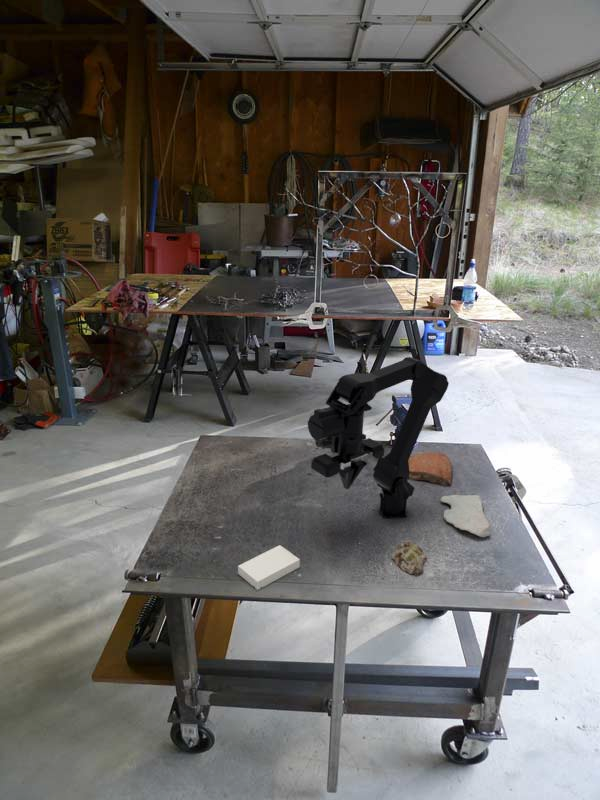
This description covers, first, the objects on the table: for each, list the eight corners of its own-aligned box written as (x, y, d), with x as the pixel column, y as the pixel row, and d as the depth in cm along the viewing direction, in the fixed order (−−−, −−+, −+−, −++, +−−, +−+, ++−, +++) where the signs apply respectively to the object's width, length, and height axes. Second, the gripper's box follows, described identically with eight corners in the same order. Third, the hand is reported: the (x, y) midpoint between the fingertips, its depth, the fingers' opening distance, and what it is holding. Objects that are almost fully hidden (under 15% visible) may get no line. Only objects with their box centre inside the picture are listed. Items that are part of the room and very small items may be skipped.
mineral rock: (386, 540, 142) (419, 532, 142) (389, 554, 144) (422, 546, 144) (396, 570, 132) (431, 562, 132) (399, 585, 134) (434, 576, 134)
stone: (477, 488, 164) (506, 525, 145) (476, 501, 166) (505, 539, 147) (431, 492, 164) (454, 529, 145) (431, 505, 165) (454, 544, 146)
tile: (279, 545, 139) (238, 565, 132) (299, 559, 135) (257, 581, 127) (279, 553, 140) (238, 575, 133) (299, 568, 136) (257, 591, 128)
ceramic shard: (403, 442, 185) (452, 454, 183) (398, 461, 186) (446, 473, 184) (402, 458, 171) (454, 471, 169) (396, 478, 172) (448, 492, 170)
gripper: (355, 409, 150) (352, 464, 156) (297, 427, 139) (295, 486, 145) (388, 424, 142) (383, 481, 148) (328, 444, 131) (325, 506, 137)
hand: (346, 488), depth 145 cm, fingers closed
